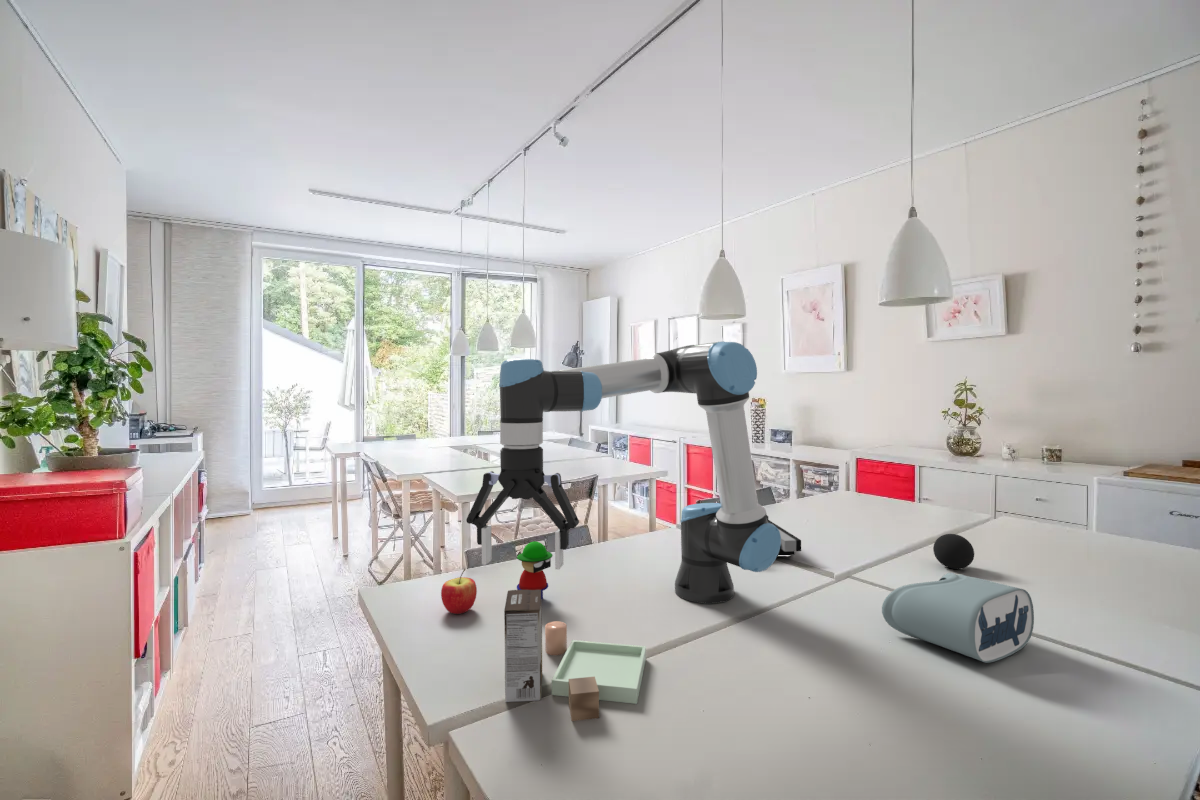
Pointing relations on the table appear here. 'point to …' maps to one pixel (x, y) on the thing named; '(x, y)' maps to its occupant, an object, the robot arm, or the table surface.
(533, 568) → the toy
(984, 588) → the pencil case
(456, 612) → the apple
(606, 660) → the tray
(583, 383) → the robot arm
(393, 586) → the table surface
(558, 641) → the peach rounded cylinder
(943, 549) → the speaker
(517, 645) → the coffee box
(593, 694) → the walnut cube
